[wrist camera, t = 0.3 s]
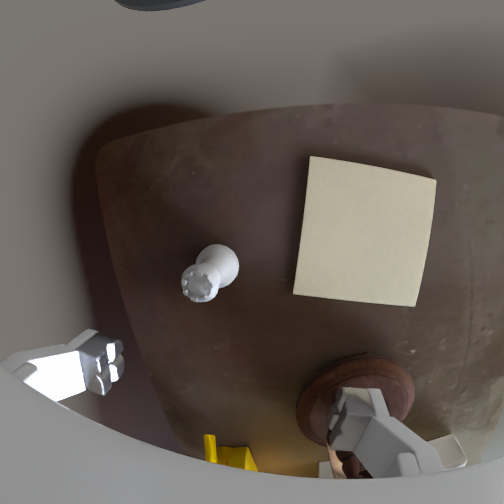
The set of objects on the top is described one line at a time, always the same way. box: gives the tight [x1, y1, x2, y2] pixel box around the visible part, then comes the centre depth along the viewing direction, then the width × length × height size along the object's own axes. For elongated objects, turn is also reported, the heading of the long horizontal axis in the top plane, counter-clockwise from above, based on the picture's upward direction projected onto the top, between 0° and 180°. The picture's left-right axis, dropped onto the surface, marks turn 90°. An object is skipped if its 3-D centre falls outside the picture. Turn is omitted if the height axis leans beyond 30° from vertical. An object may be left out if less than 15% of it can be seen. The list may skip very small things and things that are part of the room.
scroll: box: [296, 352, 415, 479], centre depth 22 cm, size 15×15×20 cm
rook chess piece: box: [181, 244, 239, 302], centre depth 27 cm, size 4×4×8 cm
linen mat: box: [293, 156, 436, 307], centre depth 28 cm, size 14×14×1 cm
